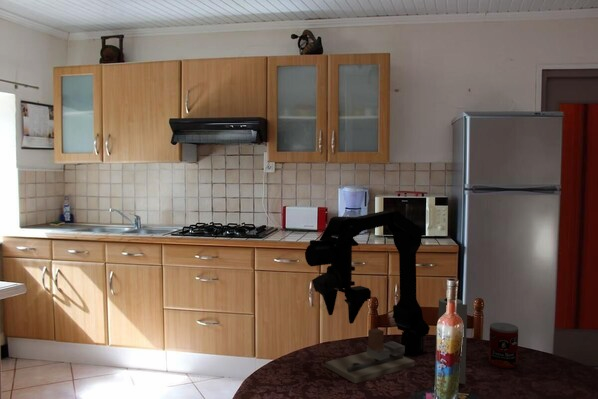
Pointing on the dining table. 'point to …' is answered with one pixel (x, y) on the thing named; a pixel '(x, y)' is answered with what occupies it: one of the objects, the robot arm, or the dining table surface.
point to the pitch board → (371, 364)
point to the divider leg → (377, 345)
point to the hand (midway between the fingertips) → (340, 319)
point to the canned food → (503, 345)
